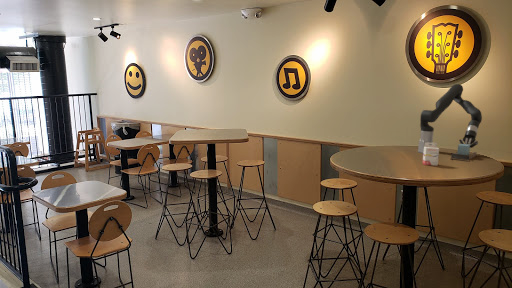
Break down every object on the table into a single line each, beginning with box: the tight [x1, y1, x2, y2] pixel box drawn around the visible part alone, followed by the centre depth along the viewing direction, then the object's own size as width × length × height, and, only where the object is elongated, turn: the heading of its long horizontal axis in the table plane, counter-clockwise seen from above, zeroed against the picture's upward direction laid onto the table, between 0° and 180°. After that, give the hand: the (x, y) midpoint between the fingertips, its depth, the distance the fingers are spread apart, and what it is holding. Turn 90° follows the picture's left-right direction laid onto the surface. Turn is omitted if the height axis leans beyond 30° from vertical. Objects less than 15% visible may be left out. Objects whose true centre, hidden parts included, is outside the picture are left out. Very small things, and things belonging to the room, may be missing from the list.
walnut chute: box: [450, 151, 478, 163], centre depth 282 cm, size 23×12×4 cm, turn 138°
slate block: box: [457, 143, 471, 155], centre depth 279 cm, size 8×6×9 cm
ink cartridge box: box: [422, 142, 440, 166], centre depth 260 cm, size 9×5×15 cm, turn 84°
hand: (465, 151), depth 283 cm, fingers closed
